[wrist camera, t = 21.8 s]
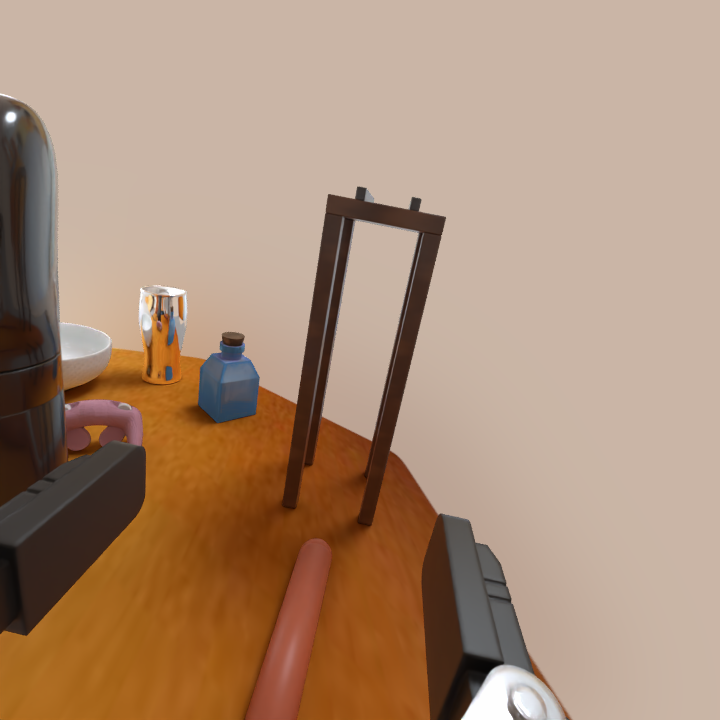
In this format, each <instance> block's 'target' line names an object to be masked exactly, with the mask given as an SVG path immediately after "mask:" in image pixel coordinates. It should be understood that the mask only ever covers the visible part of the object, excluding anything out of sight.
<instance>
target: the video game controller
mask: <svg viewBox="0 0 720 720" xmlns="http://www.w3.org/2000/svg"><path fill="white" fill-rule="evenodd" d="M65 414H66V431H67V447H68V448H69V449H71V450H75V451H77V450H81V449H84V448H85V447H87V446H88V445H89V444H90V442H91V436H90V434H89V432H88V431H87V430H86V429H85V428H84V426H91V425H106V426H108V427H107V428H106V429H105V430H104V431H103V432H102V433H101V434H100V437H99V443H100V444H101V445H102V446H104V445H106V444H107V443H109V442H110V441H113V440H116V441H122V440H123V438H124V436H126V437H127V442H128V443H130V444H134V445H139V446H142V437H143V426H142V416H141V413H140V411H139V410H138V409H137V408H135V407H133V406H130V405H128V404H126V403H121V402H117V401H112V400H85V401H79V402H74V403H70V404H65Z"/></svg>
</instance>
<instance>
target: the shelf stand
mask: <svg viewBox="0 0 720 720" xmlns="http://www.w3.org/2000/svg"><path fill="white" fill-rule="evenodd" d="M420 204H421V199H420V198H415V197H412V199H411V203H410V206H409V210H408V209H403V208H398V207H393V206H387V205H382V204H377V203H374V198H373V197H372V195H371V194H370V193H369V191H368V190H367V188H363V187H357V191H356V197H355V199H352V198H346V197H341V196H335V195H331V194H328V199H327V205H326V214H325V220H324V227H323V233H322V240H321V247H320V253H319V260H318V266H317V273H316V280H315V287H314V294H313V300H312V307H311V314H310V320H309V328H308V334H307V341H306V347H305V355H304V361H303V368H302V375H301V382H300V388H299V395H298V401H297V408H296V415H295V422H294V428H293V435H292V442H291V449H290V455H289V462H288V469H287V476H286V482H285V489H284V496H283V503H282V506H286V507H290V508H296V505H297V503H298V500H299V494H300V488H301V482H302V476H303V469H304V464H308V465H312V464H313V461H314V457H315V452H316V446H317V440H318V434H319V428H320V423H321V417H322V411H323V405H324V399H325V393H326V387H327V382H328V375H329V370H330V364H331V358H332V352H333V347H334V341H335V335H336V330H337V324H338V318H339V312H340V306H341V301H342V295H343V289H344V283H345V277H346V272H347V266H348V260H349V254H350V248H351V242H352V237H353V231H354V225H355V220H357V221H362V222H367V223H372V224H377V225H382V226H387V227H392V228H397V229H402V230H407V231H412V232H417V233H419V234H418V238H417V243H416V247H415V252H414V256H413V261H412V266H411V270H410V275H409V279H408V283H407V288H406V293H405V297H404V302H403V306H402V310H401V315H400V319H399V324H398V328H397V333H396V337H395V342H394V346H393V351H392V355H391V360H390V364H389V368H388V373H387V377H386V383H385V386H384V391H383V395H382V400H381V405H380V409H379V413H378V418H377V422H376V427H375V431H374V436H373V440H372V445H371V449H370V454H369V458H368V463H367V467H366V472H365V477H367V482H366V487H365V491H364V496H363V500H362V505H361V509H360V513H359V520H358V523H362V524H366V525H372V522H373V518H374V514H375V509H376V505H377V501H378V497H379V493H380V489H381V485H382V480H383V476H384V472H385V468H386V464H387V460H388V456H389V451H390V447H391V443H392V439H393V435H394V430H395V426H396V422H397V418H398V414H399V410H400V406H401V402H402V397H403V393H404V389H405V384H406V381H407V377H408V372H409V369H410V364H411V360H412V356H413V352H414V348H415V344H416V339H417V335H418V331H419V327H420V322H421V319H422V315H423V310H424V306H425V302H426V298H427V294H428V290H429V286H430V282H431V277H432V273H433V269H434V265H435V261H436V257H437V253H438V248H439V244H440V240H441V235H442V232H443V228H444V223H445V219H446V217H444V216H439V215H434V214H429V213H423V212H418V211H419V208H420Z"/></svg>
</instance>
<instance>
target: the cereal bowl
mask: <svg viewBox="0 0 720 720" xmlns="http://www.w3.org/2000/svg"><path fill="white" fill-rule="evenodd" d="M60 337H61V351H62V368H63V385H64V391H65V390H68V389H70V388H74V387H76V386H80V385H82V384H84V383H87V382H89V381H91V380H93V379H94V378H96V377H97V376H99V375H100V374H101V373H102V372H103V370H104V369H105V368H106V367H107V365H108V363H109V360H110V357H111V350H112V340H111V338H110V337H109V336H108V335H107V334H105V333H104V332H102V331H99V330H97V329H94V328H91V327H87V326H83V325H77V324H70V323H62V322H60Z"/></svg>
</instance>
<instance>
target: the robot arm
mask: <svg viewBox="0 0 720 720" xmlns="http://www.w3.org/2000/svg"><path fill="white" fill-rule="evenodd" d="M59 314H60V312H59V287H58V173H57V166H56V157H55V152H54V147H53V143H52V140H51V137H50V134H49V132H48V130H47V128H46V126H45V124H44V122H43V120H42V119H41V118H40V116H39V115H38V114H37V112H36V111H35V110H34V109H32V108H31V107H30V106H28V105H27V104H25V103H24V102H22V101H20V100H17V99H15V98H12V97H9V96H5V95H2V94H0V634H1V633H2V632H3V631H9V632H13V633H17V634H21V635H25V636H27V635H28V634H29V633H30V631H31V630H32V629H33V628H34V627H35V626H36V625H37V624H38V623H39V622H40V621H41V619H42V618H43V617H44V616H45V615H46V614H47V613H48V612H49V611H50V610H51V609H52V607H53V606H54V605H55V604H56V603H57V602H58V601H59V600H60V599H61V598H62V597H63V596H64V594H65V593H66V592H67V591H68V590H69V589H70V588H71V587H72V586H73V585H74V584H75V582H76V581H77V580H78V579H79V578H80V577H81V576H82V575H83V574H84V573H85V572H86V570H87V569H88V568H89V567H90V566H91V565H92V564H93V563H94V562H95V561H96V560H97V558H98V557H99V556H100V555H101V554H102V553H103V552H104V551H105V550H106V549H107V548H108V546H109V545H110V544H111V543H112V542H113V541H114V540H115V539H116V538H117V537H118V536H119V535H120V533H121V532H122V531H123V530H124V529H125V528H126V527H127V526H128V525H129V524H130V523H131V521H132V520H133V519H134V518H135V517H136V516H137V514H138V513H139V511H140V509H141V507H142V504H143V502H144V498H145V477H146V452H145V449H144V447H142V446H139V445H134V444H130V443H125V442H121V441H116V440H113V441H110V442H109V443H107V444H106V445H104V446H103V447H102V448H100V449H99V450H97V451H96V452H95V453H93V454H92V455H91V456H90V455H84V456H81V457H79V458H76V459H74V460H71V461H69V462H68V447H67V431H66V414H65V398H64V385H63V368H62V351H61V337H60V315H59ZM422 597H423V613H424V628H425V643H426V659H427V674H428V689H429V704H430V720H569V719H568V718H567V717H565V714H564V712H563V710H562V708H561V706H560V704H559V702H558V701H557V699H556V698H555V696H554V695H553V693H552V692H551V691H550V690H549V689H548V687H547V686H546V685H545V684H544V683H543V682H542V681H541V680H540V679H538V678H537V677H536V676H535V674H534V671H533V668H532V665H531V662H530V658H529V655H528V652H527V649H526V645H525V642H524V639H523V636H522V632H521V629H520V626H519V623H518V619H517V616H516V613H515V609H514V606H513V604H511V596H510V593H509V590H508V587H506V580H505V577H504V574H503V570H502V567H501V564H500V562H499V561H498V559H497V558H496V557H495V555H494V554H493V553H492V551H491V550H490V548H489V547H488V546H487V545H484V544H480V543H475V539H474V535H473V531H472V527H471V524H470V521H469V520H467V519H463V518H459V517H454V516H449V515H445V514H439V516H438V517H437V520H436V523H435V526H434V530H433V533H432V536H431V539H430V542H429V545H428V549H427V552H426V555H425V558H424V563H423V569H422Z"/></svg>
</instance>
